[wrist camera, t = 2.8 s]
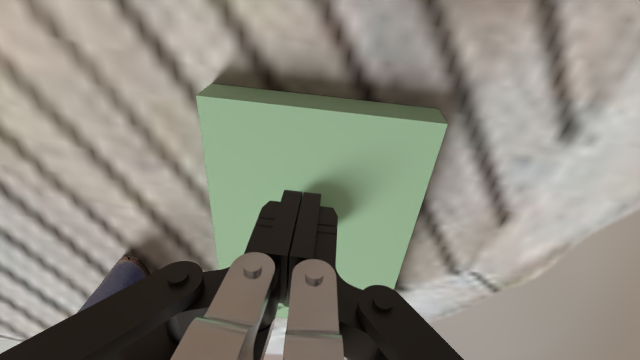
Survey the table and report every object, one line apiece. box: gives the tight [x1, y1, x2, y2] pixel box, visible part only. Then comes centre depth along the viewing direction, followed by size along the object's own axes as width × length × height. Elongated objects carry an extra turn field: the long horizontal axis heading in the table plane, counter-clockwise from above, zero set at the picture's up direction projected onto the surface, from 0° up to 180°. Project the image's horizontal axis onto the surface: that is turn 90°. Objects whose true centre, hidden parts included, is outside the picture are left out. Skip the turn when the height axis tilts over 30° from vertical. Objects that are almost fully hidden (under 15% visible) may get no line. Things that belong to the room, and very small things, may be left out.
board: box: [196, 84, 448, 318], centre depth 26 cm, size 21×15×2 cm
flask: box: [77, 256, 150, 313], centre depth 29 cm, size 9×3×11 cm, turn 0°
